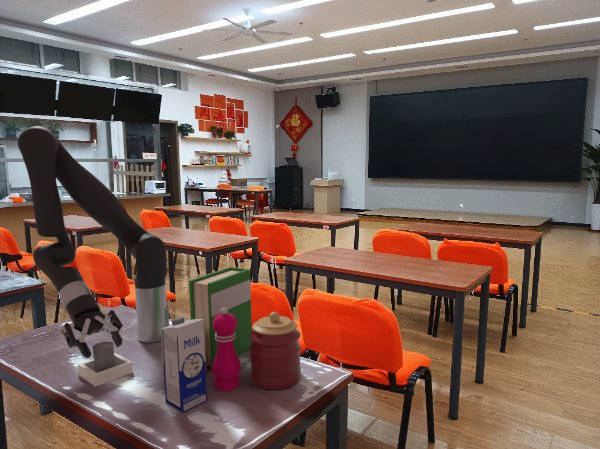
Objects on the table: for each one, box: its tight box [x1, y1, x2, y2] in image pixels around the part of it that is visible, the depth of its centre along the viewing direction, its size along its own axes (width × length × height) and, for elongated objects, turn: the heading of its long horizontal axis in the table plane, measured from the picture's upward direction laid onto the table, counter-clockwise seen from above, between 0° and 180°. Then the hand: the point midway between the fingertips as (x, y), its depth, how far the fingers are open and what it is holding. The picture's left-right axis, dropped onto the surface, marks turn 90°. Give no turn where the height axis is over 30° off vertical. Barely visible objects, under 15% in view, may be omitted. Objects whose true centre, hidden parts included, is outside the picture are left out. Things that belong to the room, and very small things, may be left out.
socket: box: [77, 351, 134, 388], centre depth 120 cm, size 10×10×3 cm
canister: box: [249, 311, 302, 391], centre depth 115 cm, size 13×13×18 cm
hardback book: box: [188, 266, 253, 372], centre depth 129 cm, size 18×7×24 cm, turn 151°
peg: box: [92, 341, 115, 373], centre depth 119 cm, size 5×5×8 cm
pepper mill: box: [211, 308, 242, 392], centre depth 112 cm, size 7×7×20 cm
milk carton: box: [161, 317, 208, 414], centre depth 104 cm, size 7×7×20 cm
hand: (105, 350), depth 119 cm, fingers open, 8 cm apart
